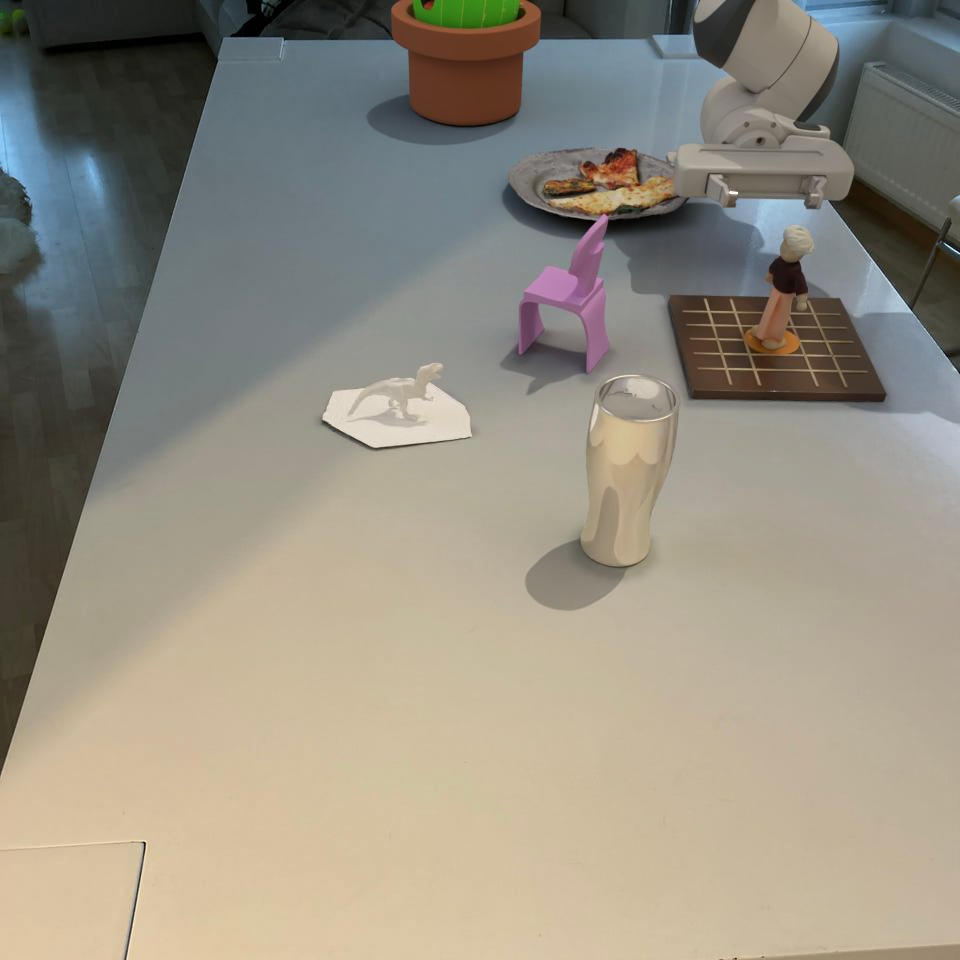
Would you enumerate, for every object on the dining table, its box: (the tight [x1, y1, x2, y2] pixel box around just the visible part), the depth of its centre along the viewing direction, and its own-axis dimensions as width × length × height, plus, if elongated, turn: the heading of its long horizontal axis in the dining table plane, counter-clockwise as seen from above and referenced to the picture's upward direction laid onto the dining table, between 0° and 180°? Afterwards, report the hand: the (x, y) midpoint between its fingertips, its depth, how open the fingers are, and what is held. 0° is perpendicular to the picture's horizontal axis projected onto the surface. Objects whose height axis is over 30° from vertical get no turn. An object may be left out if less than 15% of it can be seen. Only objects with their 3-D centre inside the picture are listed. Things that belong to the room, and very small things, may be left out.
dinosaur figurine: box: [322, 362, 473, 449], centre depth 97 cm, size 15×12×6 cm
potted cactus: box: [390, 0, 542, 127], centre depth 148 cm, size 22×22×25 cm
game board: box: [668, 294, 888, 403], centre depth 108 cm, size 20×20×1 cm
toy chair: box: [518, 214, 611, 374], centre depth 102 cm, size 8×9×15 cm
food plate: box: [507, 146, 691, 222], centre depth 134 cm, size 25×23×4 cm
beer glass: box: [579, 373, 681, 568], centre depth 80 cm, size 7×7×15 cm
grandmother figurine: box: [750, 224, 815, 350], centre depth 103 cm, size 8×4×13 cm, turn 29°
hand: (773, 202), depth 108 cm, fingers open, 8 cm apart
